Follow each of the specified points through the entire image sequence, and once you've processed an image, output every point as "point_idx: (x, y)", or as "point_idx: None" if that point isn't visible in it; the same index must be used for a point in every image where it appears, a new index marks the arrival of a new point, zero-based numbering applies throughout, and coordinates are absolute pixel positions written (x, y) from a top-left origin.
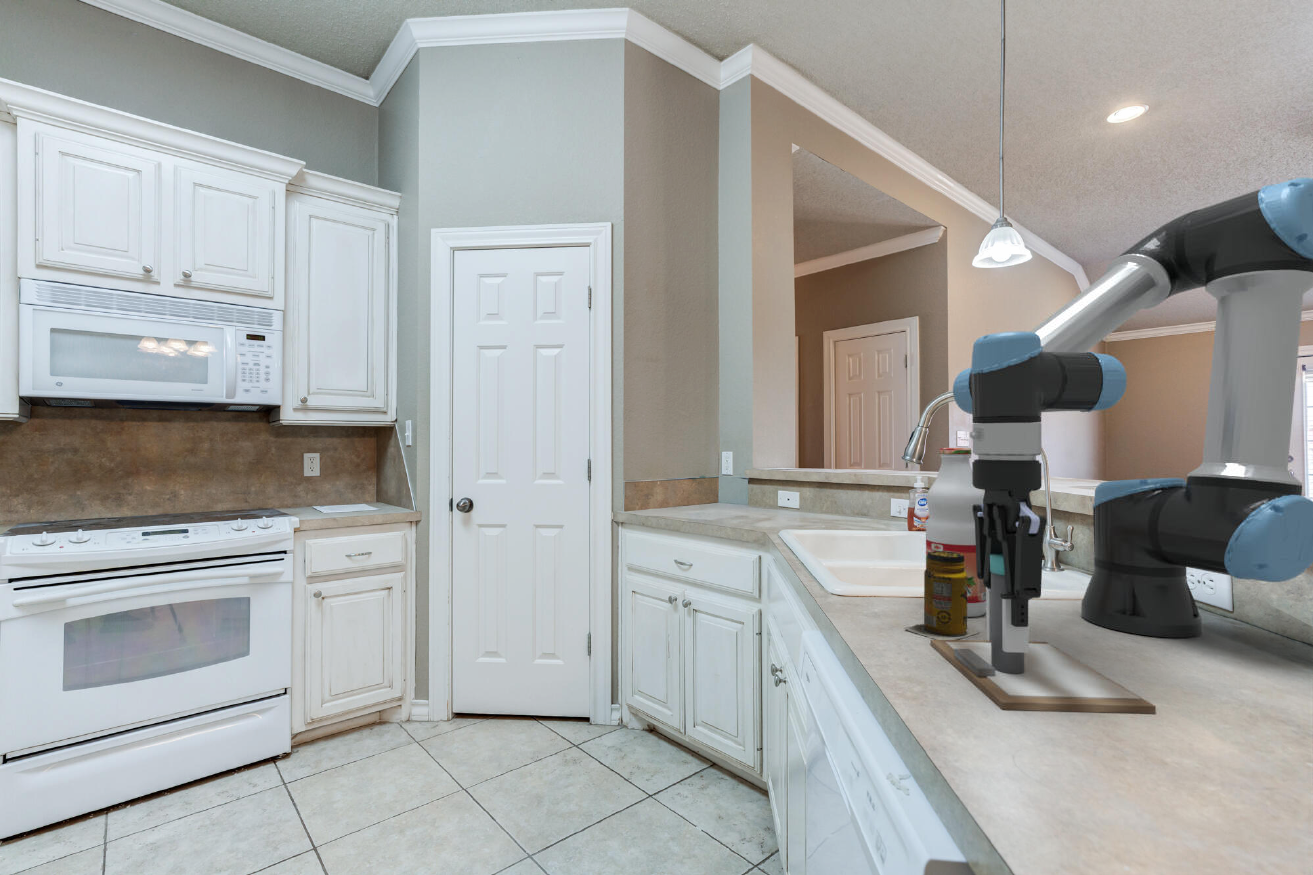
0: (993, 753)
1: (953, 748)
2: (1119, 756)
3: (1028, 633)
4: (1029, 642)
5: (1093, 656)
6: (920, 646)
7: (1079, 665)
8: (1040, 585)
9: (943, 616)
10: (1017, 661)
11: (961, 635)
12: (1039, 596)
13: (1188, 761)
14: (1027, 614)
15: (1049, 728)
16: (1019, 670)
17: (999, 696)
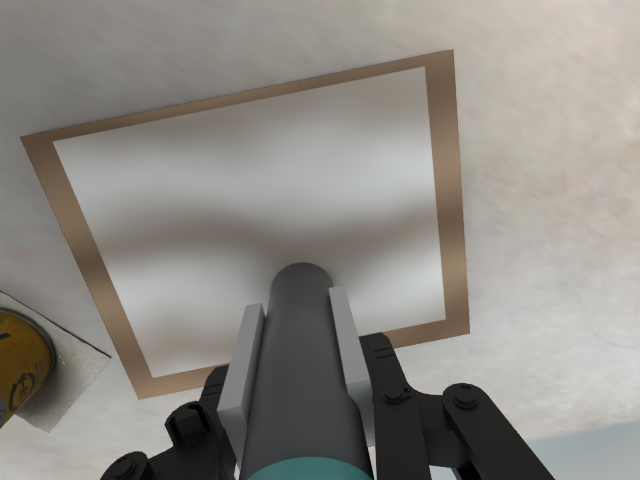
0: (604, 364)
1: (591, 404)
2: (616, 206)
3: (350, 309)
4: (53, 187)
5: (58, 23)
6: (161, 407)
7: (227, 123)
8: (510, 426)
9: (21, 394)
10: None
11: (33, 323)
12: (476, 389)
13: (635, 101)
14: (395, 357)
15: (527, 275)
16: (330, 280)
17: (444, 332)
